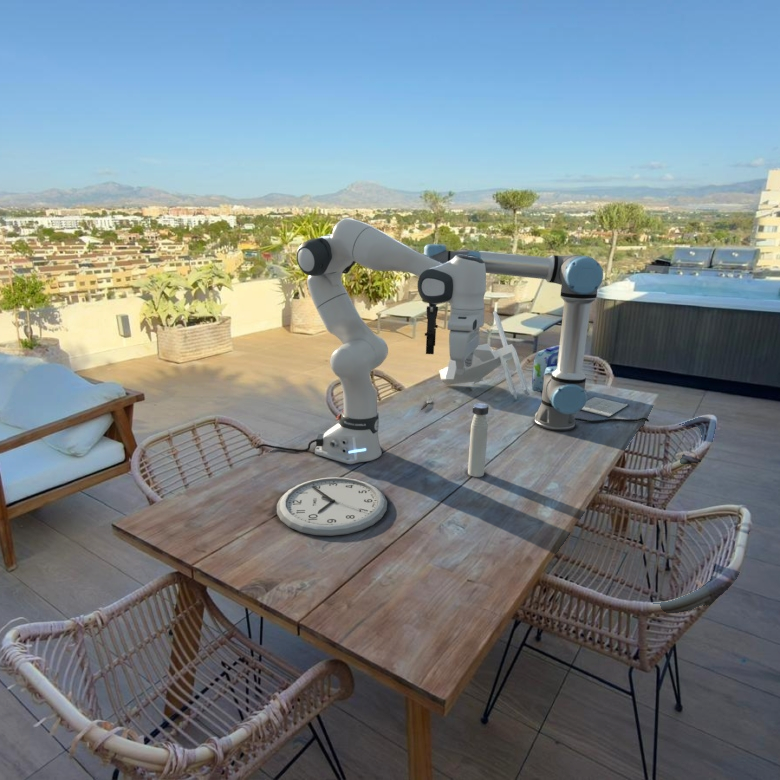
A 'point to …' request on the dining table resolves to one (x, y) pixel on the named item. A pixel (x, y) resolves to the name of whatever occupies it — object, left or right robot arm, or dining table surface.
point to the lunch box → (543, 366)
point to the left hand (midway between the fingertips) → (464, 370)
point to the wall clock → (331, 506)
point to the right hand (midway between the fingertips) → (430, 349)
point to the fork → (428, 402)
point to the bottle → (477, 446)
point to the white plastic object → (487, 364)
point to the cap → (480, 409)
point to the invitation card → (603, 406)
